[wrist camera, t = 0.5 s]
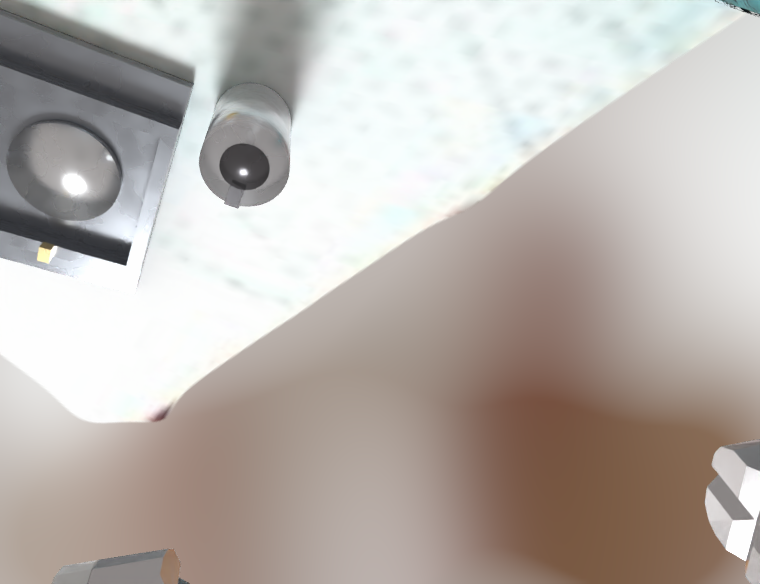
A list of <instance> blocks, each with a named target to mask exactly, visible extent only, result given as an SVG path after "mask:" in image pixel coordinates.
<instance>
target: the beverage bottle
mask: <svg viewBox="0 0 760 584" xmlns="http://www.w3.org/2000/svg"><path fill="white" fill-rule="evenodd" d="M721 1H723V2H726V3H727V4H728V3H729V5H731V4H732V5H734V9H735V8H736V7H741V9H742V10H743V12H744V11H745V12H746V13H751V12H755V13H758V14H759V16H760V0H721ZM715 2H716V0H715ZM718 3H719V2H718ZM720 4H721V3H720ZM725 5H726V4H725ZM731 7H732V8H733V6H731ZM737 10H738V9H737ZM740 11H741V10H740ZM750 11H751V12H750ZM751 14H752V13H751ZM755 15H757V14H755Z"/></svg>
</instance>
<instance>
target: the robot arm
mask: <svg viewBox="0 0 760 584" xmlns="http://www.w3.org/2000/svg"><path fill="white" fill-rule="evenodd" d="M712 467H713V468H714V469H715V470H716V472H717V473H718V474H719V475H718V476H717V477H716V478H715V479H714V480H713V481H712V482H711V483H710V484H709V485H708V486H707V491H706V498H705V506H706V511H707V515H708V520H709V522H710V524H711V526H712V528H713V531H714V532H715V535H716V536H717V538H718V539H719V540H720V542H721V543H722V545H723V546H724V547H725V549H726V550H728V551H730V552H731V553H733V554H735V555H737V556H738V557H740V558H742V559H743V560H745V577H746V578H747V579H748V581H749V582H750V583H751V584H760V439H757V440H752V441H747V442H742V443H737V444H732V445H727V446H722V447H720V448H719V449H718V450H717V451H716V452H715V453H714V458H713V462H712ZM180 567H181V562H180V560H179V558H178V556H177V554H176V552H175V550H174V549H165V550H158V551H152V552H146V553H139V554H133V555H126V556H120V557H114V558H108V559H101V560H96V561H91V562H84V563H79V564H72V565H67V566H63V567H62V568H61V569H60V571H59V572H58V573H57V575H56V576H55V577H54V579H53V582H52V584H190V583H188V582H186V581H184V580H182V579H180V578H179V573H180Z"/></svg>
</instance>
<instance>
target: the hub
mask: <svg viewBox="0 0 760 584" xmlns="http://www.w3.org/2000/svg"><path fill="white" fill-rule="evenodd" d="M290 141H291V116H290V112H289V109H288V107H287V105H286V103H285V101H284V100H283V99H282V98H281V96H280V95H279V94H277V93H276V92H275V91H274V90H272V89H271V88H269V87H267V86H264V85H261V84H257V83H243V84H239V85H236V86H234V87H232V88H230V89H228V90H227V91H226V92H225V93H224V94H223V95H222V96H221V97H220V99H219V101H218V102H217V105H216V108H215V111H214V114H213V117H212V119H211V122H210V125H209V128H208V131H207V134H206V137H205V140H204V143H203V146H202V149H201V152H200V157H199V166H200V171H201V175H202V177H203V180H204V181H205V183H206V185H207V186H208V188H209V189H210V190H211V191H212V192H213V193H214V194H215V195H217V196H218V197H219V198H221V199H222V200H224V201H225V203H224V204H226V205H229V206H232V207H235V208H239V206H257V205H261V204H264V203H266V202H269V201H270V200H272V199H274V198H275V197H276V196H277V195H278V194H279V193H280V192H281V191H282V190H283V188H284V187H285V185H286V183H287V180H288V177H289V168H290Z"/></svg>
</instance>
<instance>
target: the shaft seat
mask: <svg viewBox="0 0 760 584" xmlns="http://www.w3.org/2000/svg"><path fill="white" fill-rule="evenodd" d="M193 85H194V84H193V83H191V82H188V81H185V80H183V79H180V78H178V77H175V76H172V75H170V74H167V73H165V72H162V71H160V70H157V69H154V68H152V67H149V66H147V65H144V64H141V63H139V62H136V61H134V60H131V59H129V58H126V57H123V56H121V55H118V54H116V53H113V52H110V51H108V50H105V49H103V48H100V47H98V46H95V45H92V44H90V43H87V42H85V41H82V40H79V39H77V38H74V37H72V36H69V35H67V34H64V33H61V32H59V31H56V30H54V29H51V28H49V27H46V26H43V25H41V24H38V23H36V22H33V21H30V20H28V19H25V18H23V17H20V16H18V15H15V14H12V13H10V12H7V11H5V10H2V9H0V257H1V258H4V259H8V260H12V261H15V262H19V263H23V264H26V265H30V266H34V267H37V268H41V269H45V270H48V271H52V272H56V273H59V274H63V275H67V276H70V277H74V278H78V279H81V280H85V281H89V282H92V283H96V284H100V285H103V286H107V287H111V288H114V289H118V290H122V291H125V292H129V293H133V294H134V293H135V290H136V288H137V285H138V281H139V277H140V274H141V270H142V267H143V263H144V260H145V256H146V252H147V249H148V245H149V242H150V238H151V235H152V231H153V227H154V224H155V220H156V217H157V213H158V210H159V206H160V202H161V199H162V195H163V192H164V188H165V185H166V181H167V177H168V174H169V170H170V167H171V163H172V160H173V156H174V153H175V149H176V145H177V142H178V138H179V135H180V131H181V128H182V124H183V120H184V117H185V113H186V110H187V106H188V103H189V99H190V95H191V92H192V88H193Z"/></svg>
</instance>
